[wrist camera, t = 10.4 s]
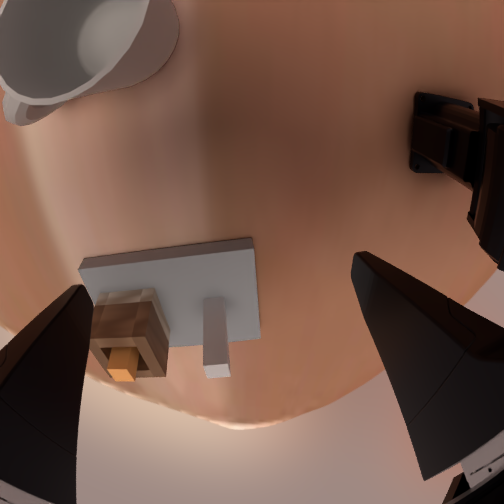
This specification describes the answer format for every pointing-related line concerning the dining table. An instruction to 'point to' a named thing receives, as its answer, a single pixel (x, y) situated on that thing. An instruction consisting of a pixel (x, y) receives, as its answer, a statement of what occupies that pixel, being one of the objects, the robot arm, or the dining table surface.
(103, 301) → the sleeve
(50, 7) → the cup
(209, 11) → the dining table surface
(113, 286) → the pin board
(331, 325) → the dining table surface
